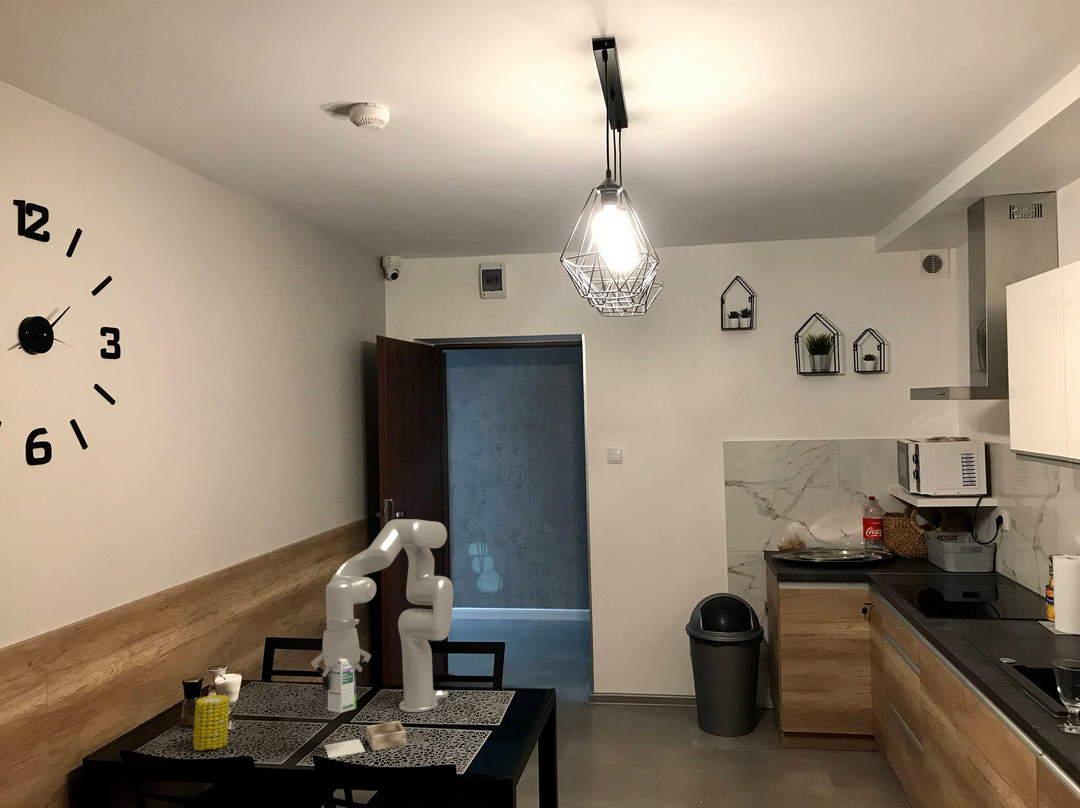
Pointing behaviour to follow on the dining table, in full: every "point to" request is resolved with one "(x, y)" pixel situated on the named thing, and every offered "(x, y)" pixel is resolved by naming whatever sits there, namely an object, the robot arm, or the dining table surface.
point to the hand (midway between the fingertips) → (342, 686)
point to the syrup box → (342, 687)
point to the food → (211, 722)
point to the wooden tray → (386, 735)
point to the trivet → (344, 748)
